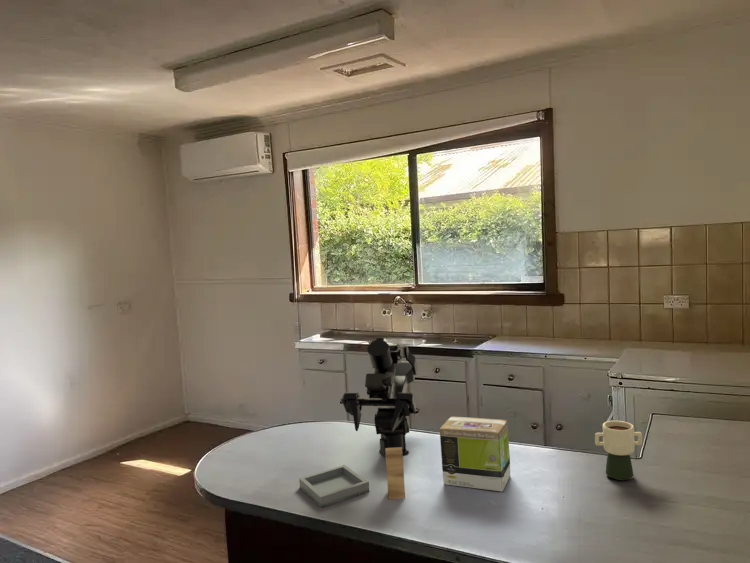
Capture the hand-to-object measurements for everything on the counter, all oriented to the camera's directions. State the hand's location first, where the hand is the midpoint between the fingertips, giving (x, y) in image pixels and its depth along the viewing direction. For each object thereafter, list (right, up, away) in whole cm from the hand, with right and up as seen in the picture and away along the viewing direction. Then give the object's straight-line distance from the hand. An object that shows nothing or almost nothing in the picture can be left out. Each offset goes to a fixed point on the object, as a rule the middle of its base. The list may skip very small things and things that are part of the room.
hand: (373, 430), depth 145 cm
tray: (-10, -15, 0) cm, 18 cm away
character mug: (+60, -11, -3) cm, 61 cm away
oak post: (+6, -14, -4) cm, 16 cm away
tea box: (+26, -13, 0) cm, 29 cm away
